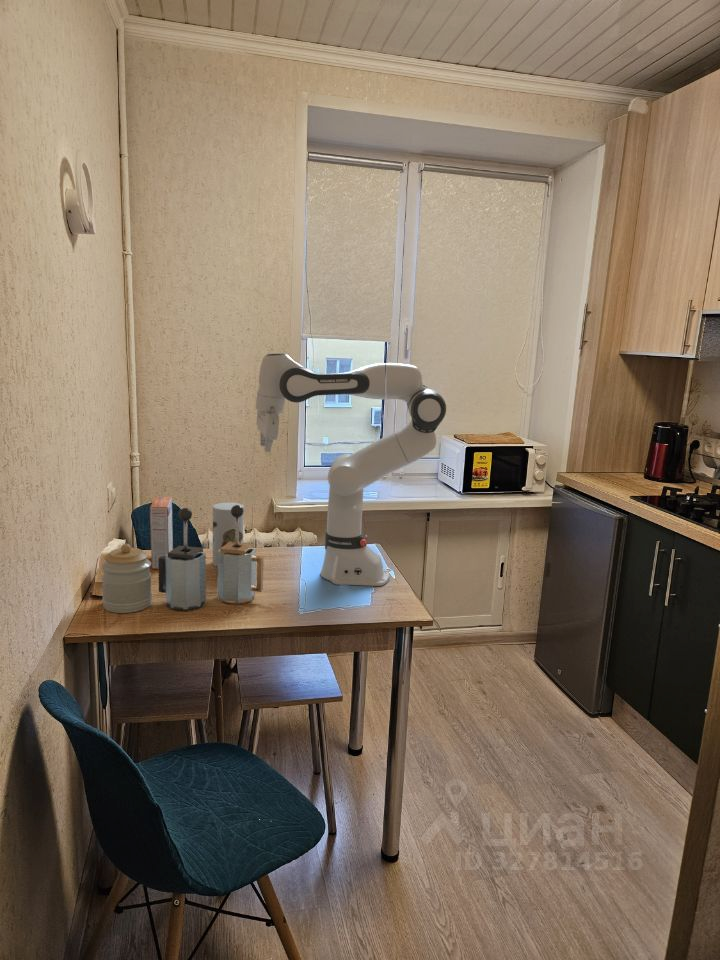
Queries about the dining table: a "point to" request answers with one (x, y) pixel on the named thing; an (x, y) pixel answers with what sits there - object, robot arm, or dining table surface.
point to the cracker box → (161, 528)
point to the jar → (126, 580)
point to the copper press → (238, 573)
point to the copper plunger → (237, 521)
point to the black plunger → (185, 524)
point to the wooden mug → (230, 538)
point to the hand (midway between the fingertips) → (265, 448)
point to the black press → (183, 578)
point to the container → (223, 525)
